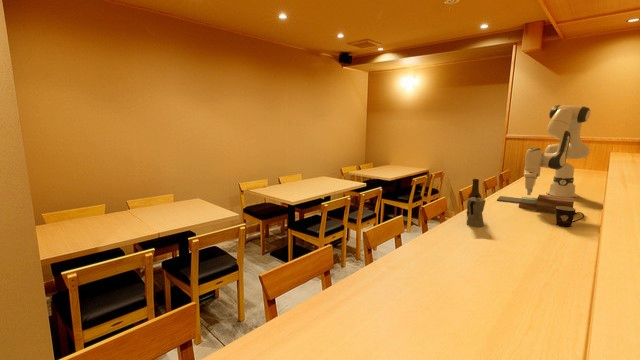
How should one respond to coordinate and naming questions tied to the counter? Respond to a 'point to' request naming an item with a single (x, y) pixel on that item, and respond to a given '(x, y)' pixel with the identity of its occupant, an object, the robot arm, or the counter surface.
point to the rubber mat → (509, 199)
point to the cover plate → (529, 200)
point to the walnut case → (548, 203)
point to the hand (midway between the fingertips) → (529, 193)
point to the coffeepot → (475, 211)
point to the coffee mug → (565, 216)
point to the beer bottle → (474, 192)
